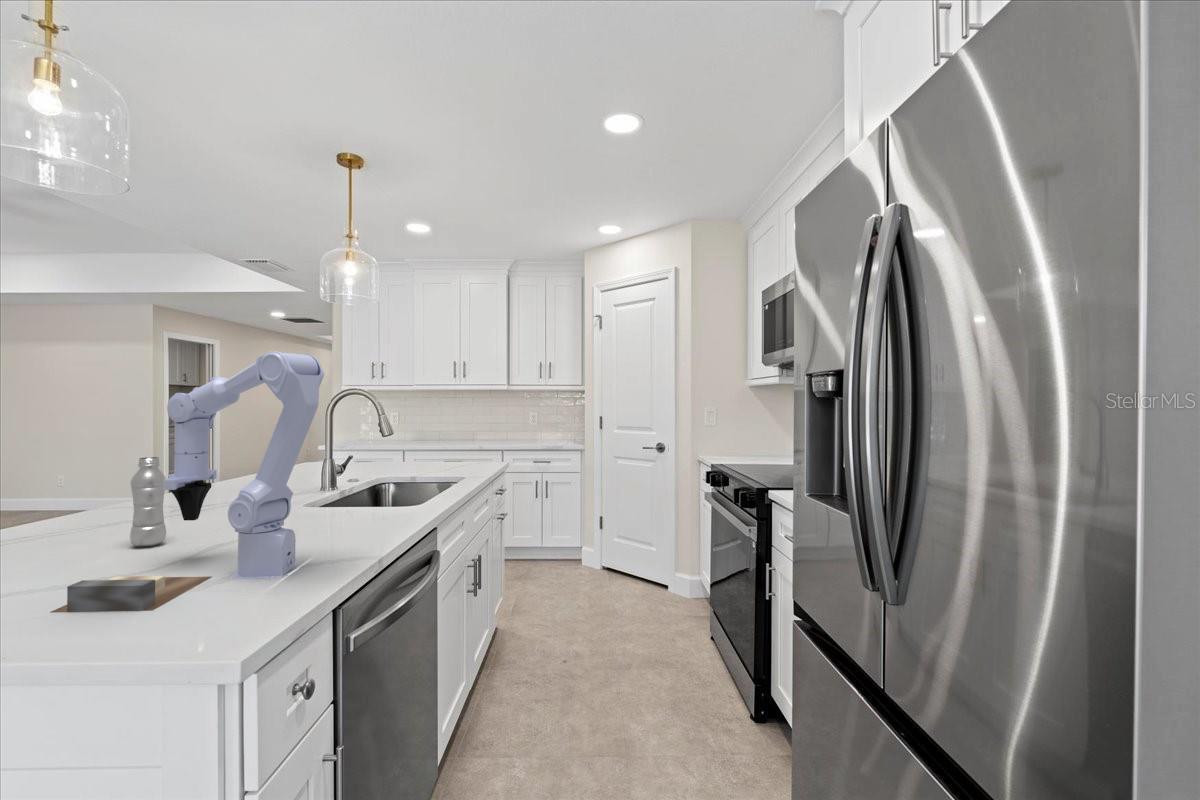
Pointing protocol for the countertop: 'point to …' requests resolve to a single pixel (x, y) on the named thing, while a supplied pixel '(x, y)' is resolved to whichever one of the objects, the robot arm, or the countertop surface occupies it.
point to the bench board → (124, 594)
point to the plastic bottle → (148, 504)
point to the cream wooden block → (158, 579)
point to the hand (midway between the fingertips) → (190, 519)
